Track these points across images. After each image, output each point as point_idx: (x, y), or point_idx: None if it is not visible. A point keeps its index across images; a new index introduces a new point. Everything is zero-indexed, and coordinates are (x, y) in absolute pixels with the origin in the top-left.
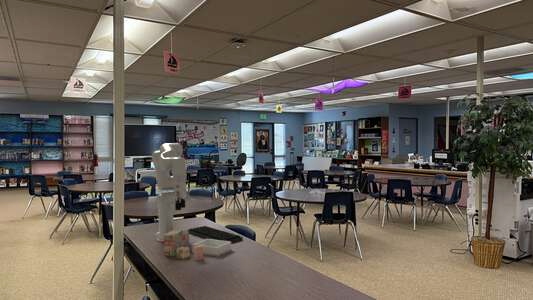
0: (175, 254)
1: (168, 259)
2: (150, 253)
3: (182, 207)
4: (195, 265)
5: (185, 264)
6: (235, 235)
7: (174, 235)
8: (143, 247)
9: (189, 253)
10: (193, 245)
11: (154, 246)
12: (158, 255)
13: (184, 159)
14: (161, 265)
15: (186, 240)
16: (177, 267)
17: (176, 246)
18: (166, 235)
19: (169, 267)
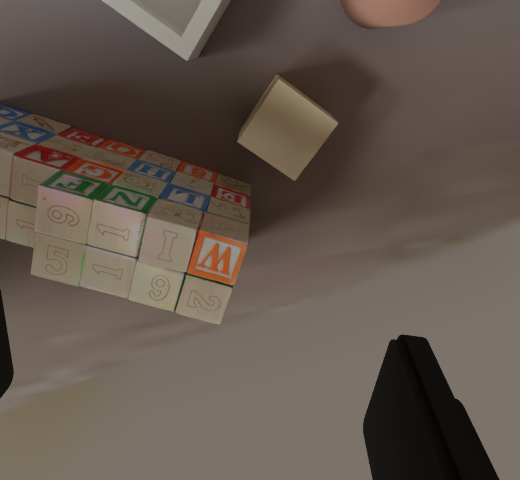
0: (234, 180)
1: (318, 211)
2: (173, 327)
3: (3, 334)
4: (514, 5)
5: (462, 85)
6: None
7: (236, 238)
8: (47, 380)
9: (276, 75)
10: (195, 47)
11: (24, 330)
12: None
13: None
14: (426, 234)
15: (17, 129)
16: (504, 133)
17: (211, 190)
18: (227, 303)
19: (483, 183)
